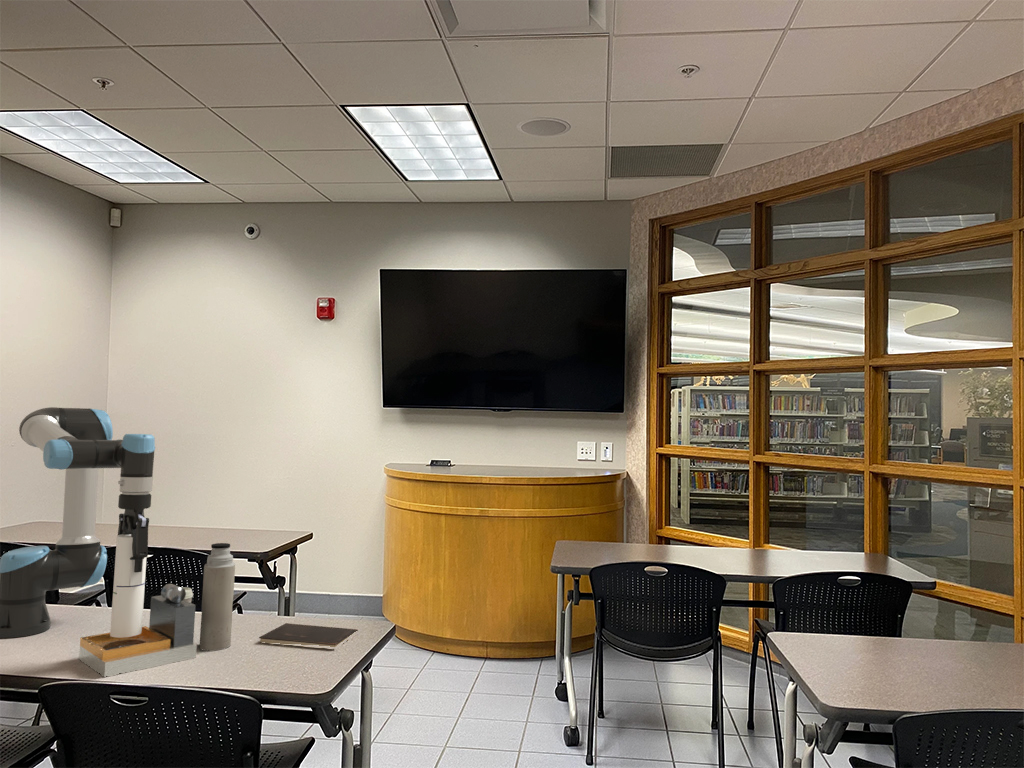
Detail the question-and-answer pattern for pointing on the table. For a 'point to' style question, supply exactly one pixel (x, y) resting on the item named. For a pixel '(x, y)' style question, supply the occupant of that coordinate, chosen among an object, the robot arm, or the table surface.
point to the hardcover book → (307, 635)
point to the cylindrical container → (126, 593)
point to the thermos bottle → (217, 598)
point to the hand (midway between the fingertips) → (129, 582)
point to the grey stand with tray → (147, 638)
